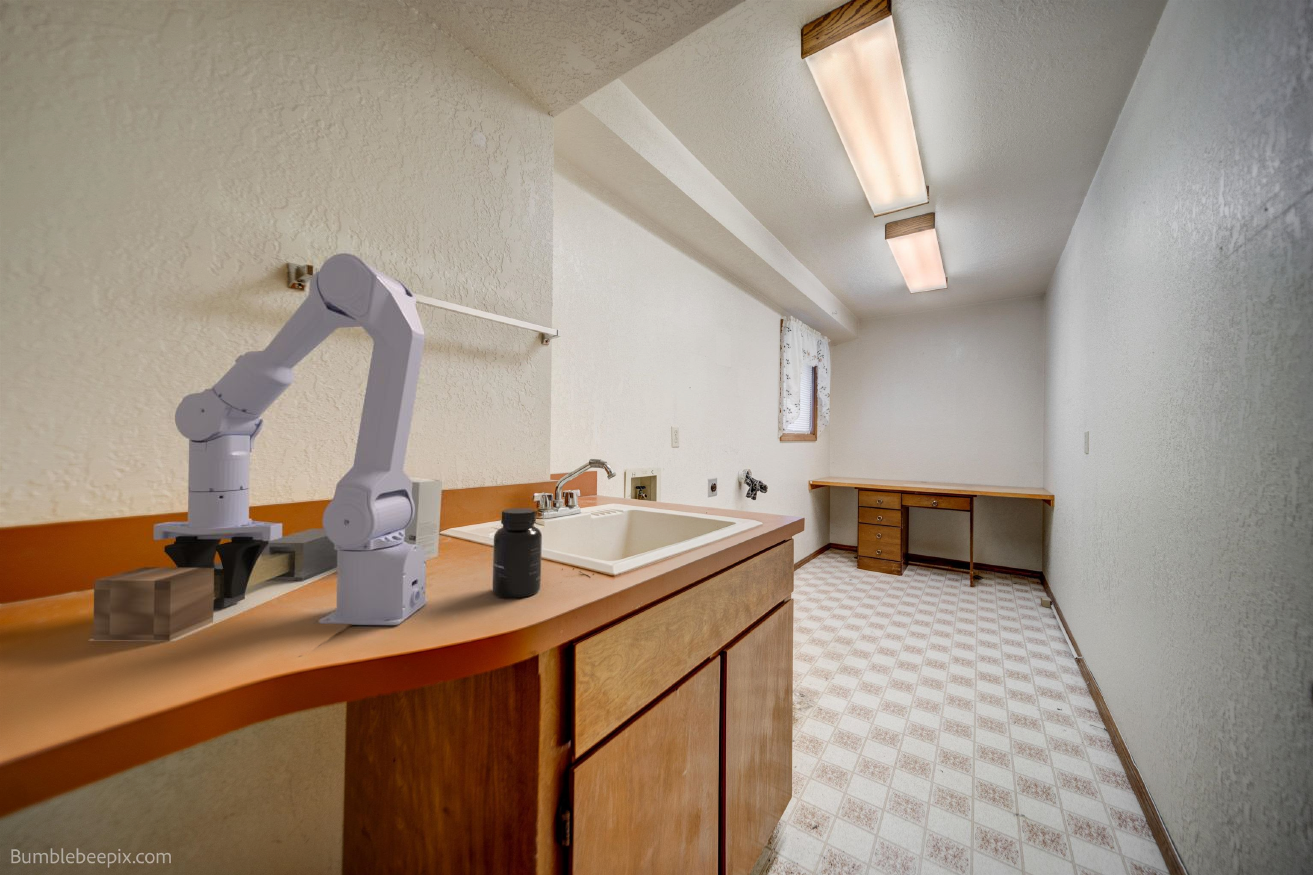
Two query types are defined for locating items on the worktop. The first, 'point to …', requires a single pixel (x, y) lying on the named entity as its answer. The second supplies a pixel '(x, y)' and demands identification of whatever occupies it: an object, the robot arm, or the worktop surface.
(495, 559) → the supplement bottle
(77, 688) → the worktop surface
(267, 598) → the board
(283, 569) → the plug
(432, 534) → the skincare box
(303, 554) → the sleeve
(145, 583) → the socket
